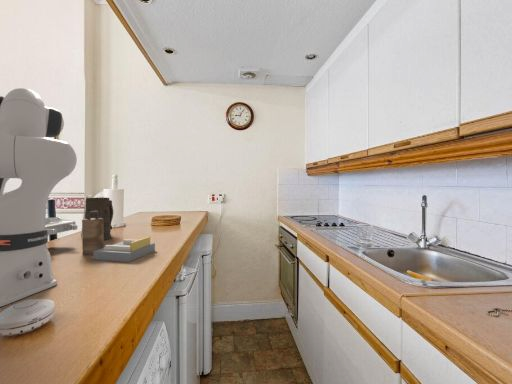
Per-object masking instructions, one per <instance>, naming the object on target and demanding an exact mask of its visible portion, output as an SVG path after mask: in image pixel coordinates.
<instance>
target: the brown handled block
mask: <svg viewBox="0 0 512 384" xmlns="http://www.w3.org/2000/svg"><path fill="white" fill-rule="evenodd" d="M98 213H99V212H98V211H90V212H88V213H87V219H83V218H82V219H81V226H82V227H81V232H82V236H81V237H82V255H88V256H89V255H90V256H94V251H95V250H98V249H101V248H105V240H104V221H103V218H99V215H98ZM92 214H95V218H91V215H92Z"/></svg>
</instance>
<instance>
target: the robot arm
mask: <svg viewBox="0 0 512 384" xmlns="http://www.w3.org/2000/svg"><path fill="white" fill-rule="evenodd" d="M64 125H65V122H64V118H63V114H62V113H61V111H60V110H58V109H56V108H53V107H51V106H50V107H48V106H46V105H45V102H44V100H43V99H42V97H41V96H40V95H39V94H38V93H36V92H35V91H34V90H31V89H28V88H25V87H24V88H23V87H21V88H20V87H19V88H14V89H12V90H10V91H9V92H8V93H7V94H5V96H3V95H0V308H1V307H3V306H6V305H9V304H11V303H14V302H17V301H19V300H22V299H25V298H27V297H29V296H31V295H35V294H37V293H39V292H42V291H44V290H47V289H50V288H52V287H54V286H57V285H58V282H57V281H58V280H57V279H55V278H54V270H53V264H52V257H51V253H50V251H49V249H48V246H47V243H48V242H49V236H50V235H51V236H52V235H57V234H58V233H59V234H60V233H64V232H69V231H77V230H78V225H77V224H76V221H75V220H72V219H62V218H61V219H60V218H59V217H46V213H47V204H48V199H49V197H50V195H51V192H52V191H53V189H54V188H55V187H56V185H58V183H60V182H61V181H62V180H64V179H65V178H66V177H68V176H69V175H71V174H72V172H74V170H75V168H76V165H77V160H78V159H77V154H76V152H75V150H74V148H73V146H72V145H71V144H70V143H68V142H67V141H63V140H60V139H54V138H56V137H58V136H60V134H61V132H62V131H63V129H64ZM10 179H19V180H21V184H20V186H19V187H18V188H16V189H13V190H10V191H7V192H5V193H4V191H5V187H6V184H7V183H8V181H9V180H10Z"/></svg>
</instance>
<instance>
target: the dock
mask: <svg viewBox="0 0 512 384" xmlns="http://www.w3.org/2000/svg"><path fill="white" fill-rule="evenodd" d="M153 252H156V243H155V242H151V236H146V237H144V238H143V237H142V238H140V239H127V238H125V239H122V241H120V242H118V243H117V242H116V243H114V244H104V248H101V249H98V250H95V251H94V255H93V260H97V261H112V262H127V263H130V262H133V261H135V260H137V259H140V258H142V257H144V256H147V255H148V254H151V253H153Z"/></svg>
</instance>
